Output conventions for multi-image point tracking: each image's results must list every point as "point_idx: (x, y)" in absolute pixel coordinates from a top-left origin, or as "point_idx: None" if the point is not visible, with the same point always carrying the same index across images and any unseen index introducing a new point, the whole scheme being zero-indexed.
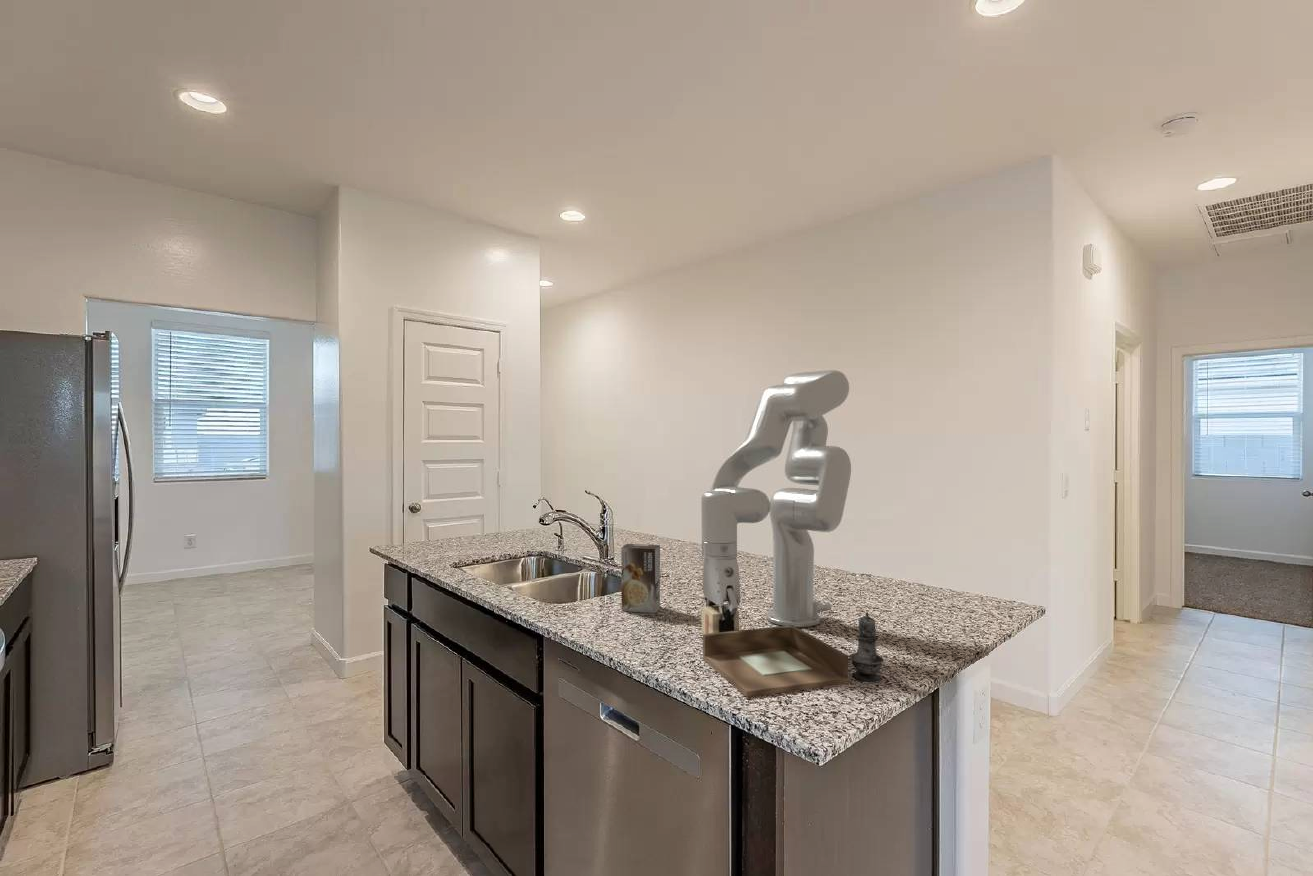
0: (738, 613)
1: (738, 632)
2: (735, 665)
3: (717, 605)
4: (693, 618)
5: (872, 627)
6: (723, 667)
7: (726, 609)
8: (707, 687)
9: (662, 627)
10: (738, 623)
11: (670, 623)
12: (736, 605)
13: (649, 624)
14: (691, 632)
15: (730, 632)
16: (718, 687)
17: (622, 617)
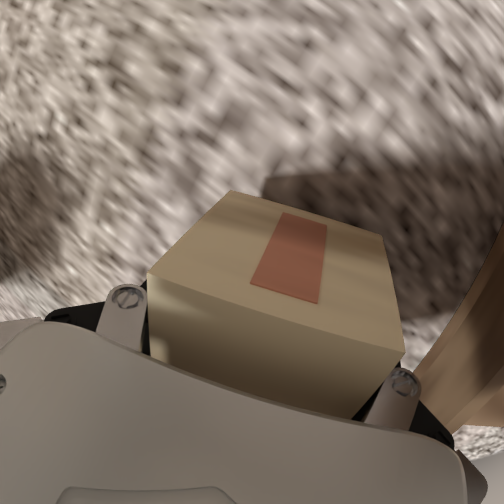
0: (402, 344)
1: (488, 398)
2: (502, 395)
3: (156, 343)
4: (22, 165)
5: None
6: (481, 418)
7: (284, 375)
8: (478, 445)
9: (78, 301)
10: (393, 292)
11: (51, 259)
12: (478, 499)
13: (56, 306)
14: (134, 268)
15: (462, 422)
16: (495, 434)
17: (20, 311)
